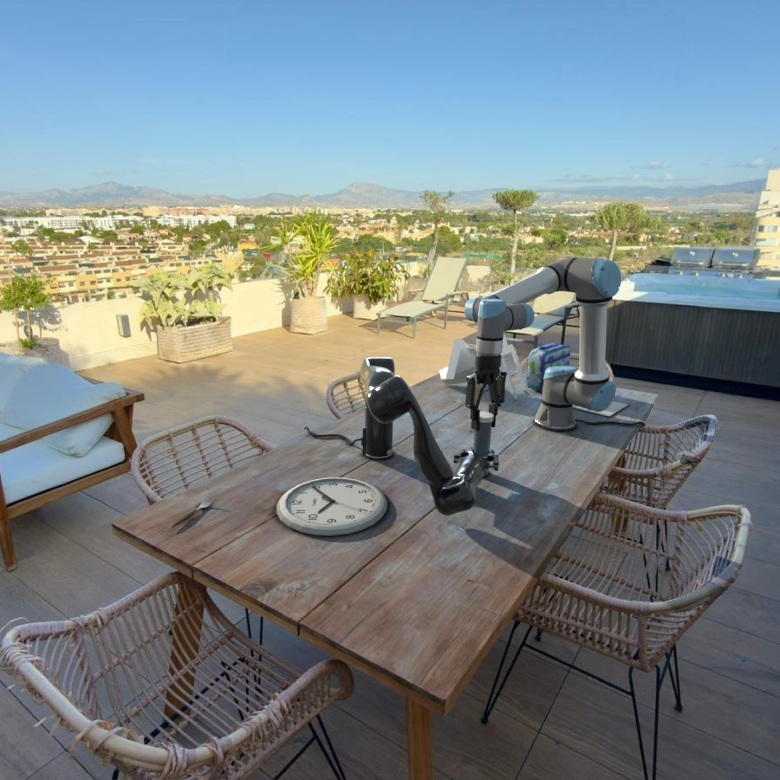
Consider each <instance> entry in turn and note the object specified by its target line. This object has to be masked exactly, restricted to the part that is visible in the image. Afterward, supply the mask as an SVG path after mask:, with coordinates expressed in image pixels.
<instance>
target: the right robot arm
mask: <svg viewBox="0 0 780 780" xmlns="http://www.w3.org/2000/svg"><path fill="white" fill-rule="evenodd" d="M621 285H622V273H621V269H620V267H619V265H618V264H617V263H616V262H615V261H613V260H610V259H604V258H594V257H593V258H588V257H575V256H574V257H573V256H572V257H566V258H563V259H559V260H557V261H554V262H551V263H549V264H545V265H544V266H542V267H540V268H539V269H538V270H537V271H536V273H535V274H532V275H530V276H527V277H525V278H523V279H521V280H519V281H517V282H515V283H513V284H511V285H508V286H506V287H504V288H502V289H500V290H498V291H495V292H494V293H492V294H489V295H487V296H485V297H482V298H480V297H471V298H469V299H468V300H467V301H466V302H465V305H464V309H463V311H464V312H463V313H464V316H465V318H466V319H467V320H468V321H470V322H474V323H475V324H477V328H476V329H477V331H476V332H477V333H476V343H475V344H476V345H475V346H476V351H477V352H478V353H476V355H475V366H476V370H475V372H474V374H473V375H471V376H470V375H467V377H466V378H467V383H466V394H465V402H464V406H465V408H467V409H470V415H469V419H470V420H471V422H470V429H472V430H473V431H479V418H480V412H481V410H480V409H479V406H480V403H481V400H482V396H483V394H484V390H485V389H486V388H487V386H488V391H489V397H490V404H488V412H489V413H492V414H493V415H494V420H493V421H492V429H494V428H496V422H497V421H496V420H497V416H498V415H499V414H498V412H499V408H501V406H502V404H504V403H505V397H506V396H505V394H506V376H507V372H505V371H504V370H503V369H500V368H501V366H502V363H501V359H502V356H501V353H502V348H503V335H504V334H505V332H511V331H516V330H517V331H518V330H519V331H520V330H523V329H527V328H530V327H531V326H532V325H533V323H534V321H535V310H534V309H533V307H532V306H531V305H530V304H528V303H529V302H532V301H534V300H535V299H537V298H540V297H542V296H544V295H553V294H555V293H557V292H565V293H566V292H567V293H575V303H577V304H578V305H579V354H578V356H579V357H578V368H577V367H576V366H571V365H569V366H555V367H549V368H547V369H546V371H545V375H544V378H543V379H544V381H543V391H542V392H541V393H542V394H541V402H540V405H539V407H538V410H537V411H536V413H535V416H534V424H535V425H536V426H537V427H539V428H542V429H544V430H549V431H556V432H567V431H572V430H574V429H575V428H576V422H577V423H582V424H586V425H605V424H608V425H610V424H611V425H619V426H629V427H632V426H633V427H634V426H637V425H642V426H643V427H644V426H645V427H646V423H645V422H644V421H636V422H621V421H615V420H614V421H613V420H603V421H601V420H599V421H587V420H584V419H578V418H575V417H576V416H575V413H574V407H573V406H575V407H576V406H579V407H582V408H586V409H588V410H592V411H596V412H601V411H604V410H605V409H606V408H607V407H608V406H609V405H610V404H611V402H612V401H614V398H615V396H616V392H617V386H616V384H615V383H614V382H613V381H610V373H609V371H608V370H607V369H606V352H607V351H606V348H607V326H608V325H607V324H608V322H607V321H608V305H609V304H610V303H611V302H612V301H613V297H614V296H616V295H617V294H618V293H619V291H620V287H621ZM476 378H477V380H476Z"/></svg>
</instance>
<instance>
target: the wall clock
mask: <svg viewBox="0 0 780 780" xmlns="http://www.w3.org/2000/svg"><path fill="white" fill-rule="evenodd" d="M387 509H388V500H387V498H386V496H385V494H384V493H383V492H382V491H381V490H380V489H379V488H377V487H376V486H374V485H372V484H371V483H369V482H365V481H362V480H359V479H355V478H349V477H338V476H337V477H335V476H333V477H332V476H331V477H322V478H317V479H312V480H307V481H305V482H302V483H299V484H297V485H295V486H293V487H292V488H290V489H288V490H287V491H286V492H285V493H284V494H283V495H281V496H280V498H279V499H278V502H277V503H276V515H277V517H278V518H279V520H280V521H281V522H282V523H283V524H285V525H286V526H287V527H288V528H290V529H293V530H295V531H297V532H299V533H303V534H308V535H312V536H327V537H328V536H329V537H331V536H332V537H333V536H342V535H350V534H352V533H356V532H361V531H363V530H366V529H368V528H369V527H372V526H373V525H375V524H376V523H378V522H379V521H380V520H381V519H382V518H383V517H384V516H385V514H386V512H387Z"/></svg>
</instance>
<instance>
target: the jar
mask: <svg viewBox="0 0 780 780" xmlns="http://www.w3.org/2000/svg"><path fill="white" fill-rule="evenodd" d="M492 429H493V427H492V422H490V423H481V422H479V431H475V430H473V431H474V433H473V445H472V447H473V455H477V456H483V455H484V454H489V452H490V450H491V441H492V440H491V439H492ZM488 474H489V469H488V470H486V472H485V474H484V476H483V477H486V476H488Z"/></svg>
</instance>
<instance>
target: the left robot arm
mask: <svg viewBox="0 0 780 780" xmlns="http://www.w3.org/2000/svg"><path fill="white" fill-rule="evenodd" d="M395 364H396V363H395V361H394V359H393V358H392V357H389V356H388V357H382V356H381V357H380V356H379V357H372V356H371V357H366V358H364V359H363V360H362V361H361V365H360V370H359V371H360V379H361V382H362V384H363V385H364V389H365V392H366V393H365V397H364V398H365V399H364V427H362V436H361V437H360V438H356V439H354V440H353V441H352V442H351V441H350V440H349V439H348V438H347V437H346V436H345V435H342V434H338V433H330V434H327V433H326V434H315V433H312V432H311V430H310V428H309V427H308V426H305V427H303V429H304V430H306V431H307V433H308V434H309V435H310V436H311V437H316V438H325V437H327V438H328V437H339V438H342V439H343V440H344V441H346V443H347V444H349V445H354V444H355V443H357V442H359V441H360V446H362V456H365V457H367V458H369V459H371V460H386V459H389V458H391V457H392V456H393V449H394V448H393V444H394V443H393V442H394V441H393V439H394V438H393V437H394V436H393V435H394V421H396V420H397V419H399V418H400V417H402V416H404V415H405V414H407V413H409V415H410V418H411V420H412V426H413V457H414V461H415V464H416V466H417V467H418V469H419V470H420V472H421V474H422V475H423V477H424V479H425V480H426V482H427V485H428V486H429V490H430V493H431V496H432V500H433V504H434V506H435V507H434V508H435V509H436V511H437V512H438V513H439V514H441V515H443V516H452V515H456V514H458V513H462V512H466V511H468V510H471V509H472V508H473V507H474V506H475V504H476V501H477V499H476V489H477V488H478V486H479V485H480V483H481V482H482V481H483V479H484V477H485V476H484V474H485V472H486V470H488V471H489V469H493V471H495V472H498V471H499V469H500V468H499V465H500V461H499V460H500V458H499V455H498V454H496V451H495V450H494V448H490V452H489V454H484V455H483V456H477V455H473V446H470V447H469V448H468V449H467V450H466V449H465V448H464V449H460V450H459V451H457V452H455V454H454V455H453V464H458V463H459V464H458V466H457V467H456V469H455V471H454V470H453V467H452V466H451V464H450V463H449V461H448V459H447V458H446V456H445V455H444V453H443V451H442V449H441V448H440V446H439V445H438V443H437V440H436V438H435V436H434V434H433V431H432V429H431V427H430V425H429V422H428V420H427V418H426V416H425V414H424V412H423V410H422V407H421V406H420V404H419V402H418V400H417V397H416V396H415V394H414V392H413V390H412V388H411V387H410V385H409V384H408V382H407V381H406V380H405V379H404V378H403V377H402V376H401V375H398V374H396V365H395ZM448 483H449V485H448V486H446V487H445V485H447V484H448Z"/></svg>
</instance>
